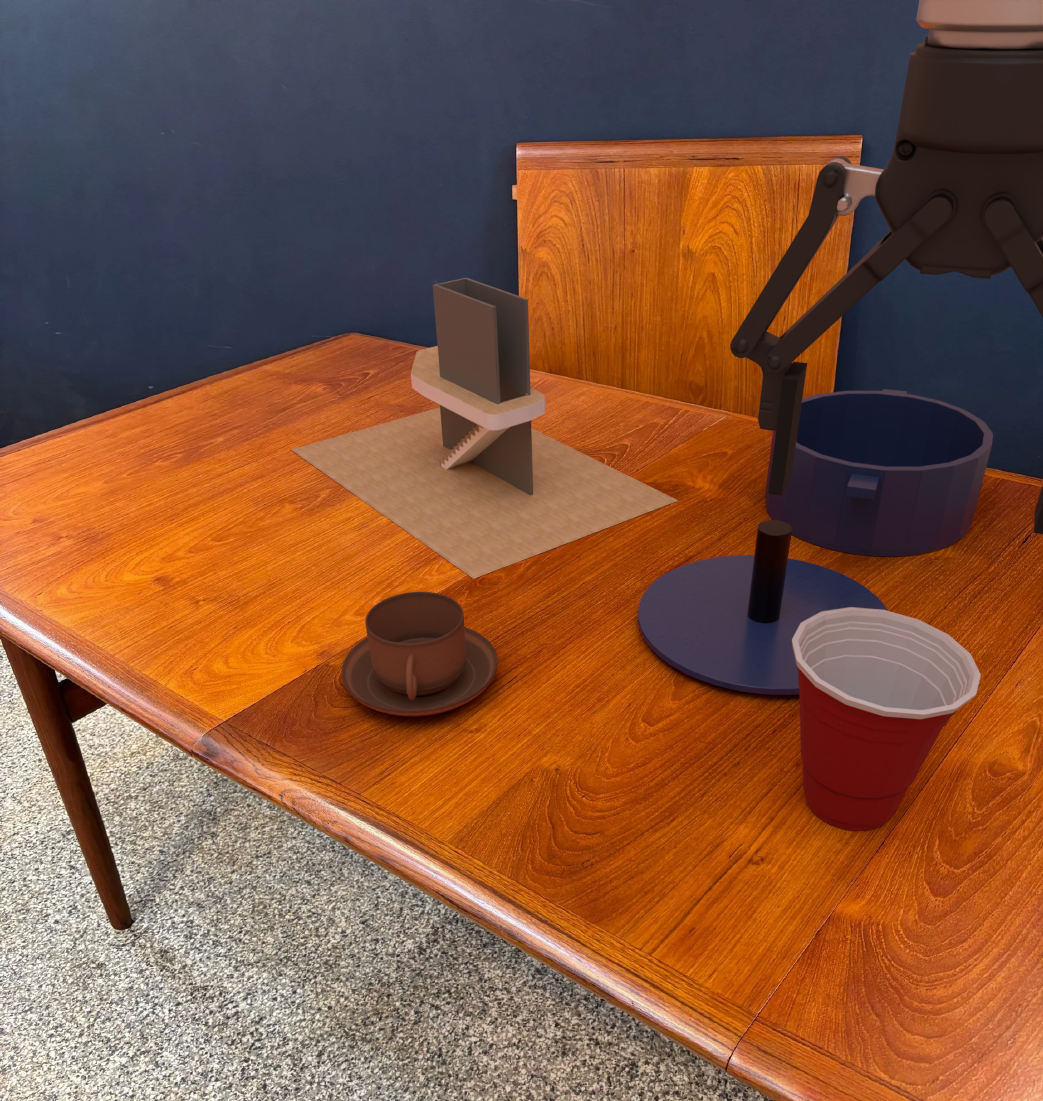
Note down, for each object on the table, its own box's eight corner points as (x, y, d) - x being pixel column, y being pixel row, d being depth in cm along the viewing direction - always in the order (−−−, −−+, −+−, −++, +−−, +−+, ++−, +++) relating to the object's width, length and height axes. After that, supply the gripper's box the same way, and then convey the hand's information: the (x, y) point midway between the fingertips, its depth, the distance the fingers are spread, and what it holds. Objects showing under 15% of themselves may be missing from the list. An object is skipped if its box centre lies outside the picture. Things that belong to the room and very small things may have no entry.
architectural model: (290, 449, 117) (258, 270, 105) (471, 398, 129) (460, 232, 117) (473, 578, 92) (458, 362, 80) (678, 500, 103) (691, 301, 91)
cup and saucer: (519, 709, 76) (516, 641, 72) (362, 746, 73) (351, 677, 69) (472, 629, 85) (468, 564, 81) (331, 659, 82) (320, 593, 78)
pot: (978, 472, 106) (998, 393, 101) (962, 585, 88) (985, 496, 83) (790, 449, 113) (800, 373, 108) (739, 550, 94) (748, 464, 89)
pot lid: (905, 589, 88) (927, 491, 82) (874, 726, 73) (898, 618, 67) (675, 551, 95) (681, 458, 89) (603, 669, 79) (605, 567, 74)
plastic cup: (943, 875, 61) (992, 719, 54) (761, 844, 63) (785, 691, 56) (935, 762, 69) (977, 614, 62) (775, 739, 72) (797, 594, 65)
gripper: (692, 43, 43) (663, 496, 56) (1388, 44, 35) (1171, 575, 48) (733, 31, 49) (699, 446, 62) (1344, 29, 41) (1159, 509, 53)
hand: (905, 503), depth 55 cm, fingers open, 13 cm apart
